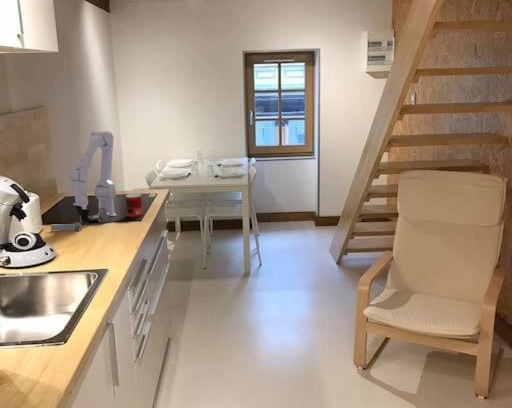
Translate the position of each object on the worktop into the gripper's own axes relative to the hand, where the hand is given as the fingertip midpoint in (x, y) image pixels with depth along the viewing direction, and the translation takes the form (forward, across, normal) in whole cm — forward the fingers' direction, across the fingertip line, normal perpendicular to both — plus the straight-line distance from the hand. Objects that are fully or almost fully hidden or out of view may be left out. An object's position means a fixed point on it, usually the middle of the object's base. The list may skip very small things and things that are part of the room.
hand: (83, 220), depth 259 cm
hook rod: (+1, 0, +6) cm, 6 cm away
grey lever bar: (+1, +7, -10) cm, 12 cm away
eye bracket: (+2, 0, +10) cm, 10 cm away
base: (+2, +10, -4) cm, 11 cm away
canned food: (+2, -2, +26) cm, 26 cm away
